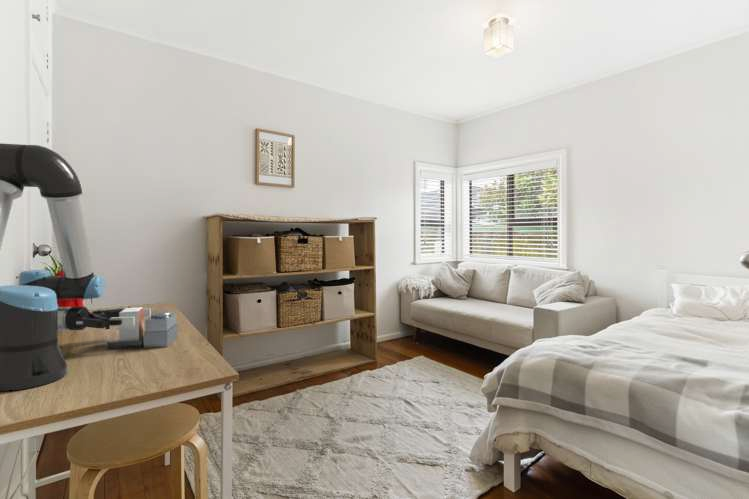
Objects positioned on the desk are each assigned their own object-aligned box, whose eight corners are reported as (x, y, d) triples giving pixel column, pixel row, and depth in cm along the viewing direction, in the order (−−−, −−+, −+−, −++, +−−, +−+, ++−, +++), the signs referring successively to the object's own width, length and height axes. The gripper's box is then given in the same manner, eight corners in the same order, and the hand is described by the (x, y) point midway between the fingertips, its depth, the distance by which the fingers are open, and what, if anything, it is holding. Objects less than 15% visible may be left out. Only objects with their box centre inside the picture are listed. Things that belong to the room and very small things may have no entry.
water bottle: (76, 321, 157) (75, 261, 156) (89, 325, 152) (88, 262, 151) (48, 326, 149) (47, 262, 148) (60, 330, 144) (59, 263, 143)
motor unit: (167, 346, 125) (167, 315, 124) (107, 349, 121) (106, 317, 121) (177, 337, 136) (177, 309, 135) (122, 339, 132) (122, 310, 132)
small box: (139, 343, 125) (138, 311, 125) (119, 344, 123) (118, 312, 123) (144, 337, 132) (143, 306, 132) (125, 338, 130) (125, 307, 130)
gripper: (91, 321, 136) (156, 319, 140) (45, 340, 112) (126, 337, 116) (90, 300, 136) (156, 299, 140) (45, 315, 111) (126, 313, 116)
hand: (142, 316), depth 128 cm, fingers open, 13 cm apart
